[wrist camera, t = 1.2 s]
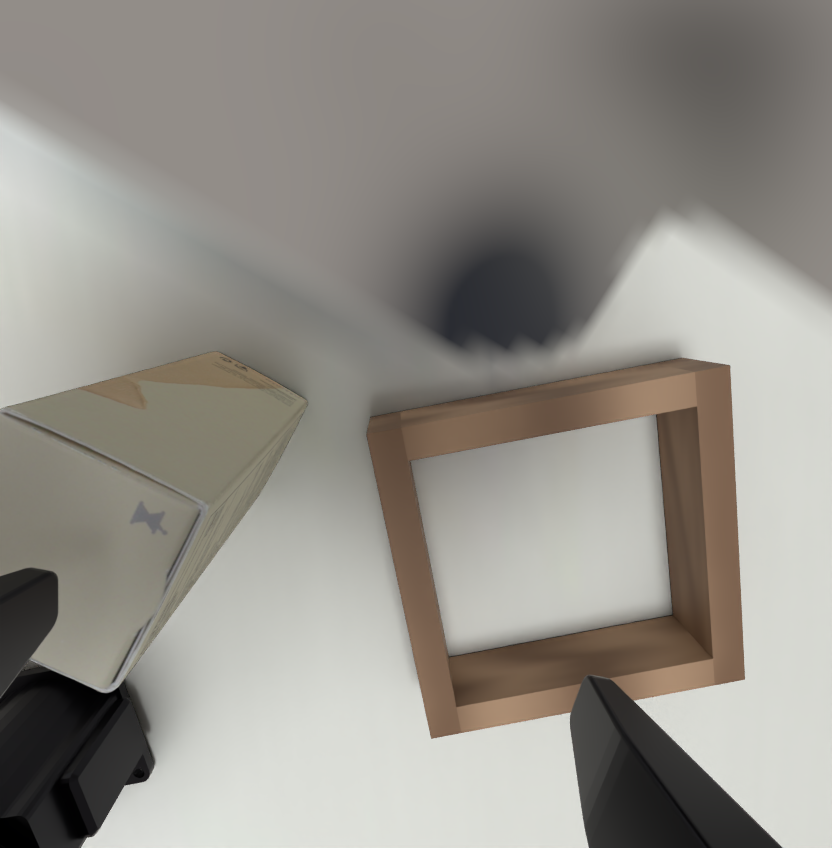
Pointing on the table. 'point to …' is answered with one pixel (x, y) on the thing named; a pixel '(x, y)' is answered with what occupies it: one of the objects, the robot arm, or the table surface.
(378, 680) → the table surface
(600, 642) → the brown square frame
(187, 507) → the box
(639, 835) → the robot arm
